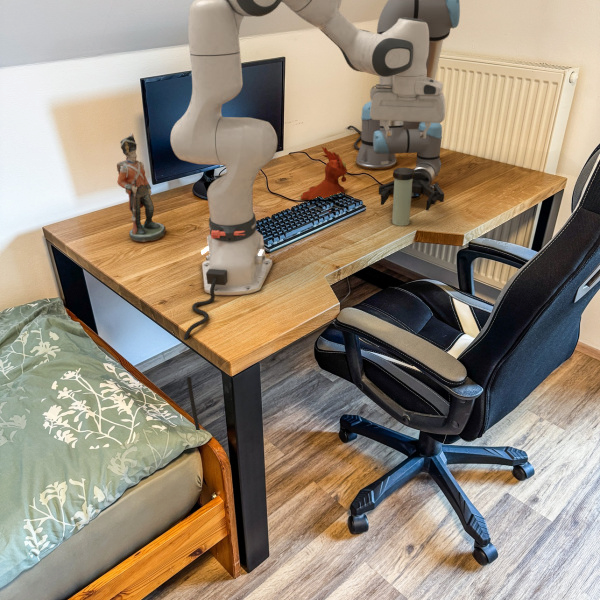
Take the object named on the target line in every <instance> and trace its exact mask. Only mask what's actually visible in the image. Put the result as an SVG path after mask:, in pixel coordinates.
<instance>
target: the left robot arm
mask: <svg viewBox="0 0 600 600" xmlns="http://www.w3.org/2000/svg"><path fill="white" fill-rule="evenodd" d="M342 1H343V0H193V2H192V3H191V4H190V6H189V12H188V27H187V28H188V50H189V58H190V66H191V84H192V89H191V97H190V101H189V104H188V107H187V109H186V111H185V112H184V114H183V115H182V116H181V117H180V118H179V119H177V121H176V122H175V123H174V125H173V126H172V129H171V131H170V138H169V139H170V140H169V141H170V146H171V150H172V151H173V153H174V155H175V156H176V157H177V158H178V159H179V160H181V161H184V162H188V163H192V164H197V165H211V166H212V165H213V166H214V165H216V166H217V165H219V166H225V169H226V173H225V174H224V175H222V176H220V177H218V178H217V179H215V180H213V181H212V182H211V183H210V185H209V186H208V188H207V191H206V196H207V203H208V212H209V218H208V229H209V234H208V235H207V236H206V243H207V246H206V247H205V248H204V249H202V250H201V251H200V252H201V255H204V254H205V253H207V252H208V255H206V256H205V260H204V261H203V262H202V263H201V268H202V278H203V290H204V292H205V293H207V294H210V298H209V299H207V300H204V301H197V302H194V303H193V304H192V306H191V309H192V310H193V312H195V313H197V314H200V315H202V316H204V318H202V319H201V320H199V321H195V322H194V323H193V324H191V325H190V326H189V327H188V328H187V330H186V331H185V333H184V338H183V341H187V340H189V338H190V334H191V333H192V331H194V330H195V329H196V328H198V327H200V326H202V325H204V324H205V323H207V322H208V321H209V318H210V316H209V313H208V312H206V311H205V310H203V309H200V308H198V307H202V306H207V305H209V304H212V303H213V302H214V300H215V298H216V296H239V295H240V296H241V295H249V294H253V293H256V292H259V291H260V290H261V288H262V287H263V286H264V283H265V280H266V278H267V276H268V274H269V273H270V271H271V268H272V266H273V265H274V264H273V260H272V259H271V258H268V257H266V249H265V242H264V235H263V234H262V233H260V232H259V231H258V230H257V218H256V214H255V212H254V200H253V194H254V193H253V191H254V190H253V189H254V184H255V181H256V178H257V175H258V174H259V172H260V171H261V170H262V168H264V167H265V166H266V165H267V164H268V163H270V162H271V161H272V160H273V158H274V157H275V154H276V152H277V150H278V135H277V133H276V130H275V129H274V127H273V125H272V124H271V123H270V122H269V121H266V120H263V119H258V118H254V117H245V116H243V117H240V116H239V117H237V116H236V117H235V116H233V117H232V116H230V117H229V116H226V117H225V116H223V115H222V107H223V105H224V104H226V103H229V102H230V101H231V100H233V99H235V98H236V97H237V96H238V95H239V94H240V92H241V91H242V88H243V73H242V72H243V69H242V55H241V46H240V36H239V35H240V28H241V24H242V21H243V19H244V18H245V17H249V18H250V17H256V18H257V17H264V16H267V15H269V14H271V13H272V12H274V11H275V10H276V9H277V8H278V7H279V6H280V4H281V3H283V4H284V5H285V6H287V8H289V10H291V11H292V12H293V13H295V15H297V16H298V17H300V18H301V19H302V20H303V21H306V23H308V24H310V25H312V26H314V27H316V28H317V29H318V30H320V31H321V32H322V33H323V34H324V35H325V36H326V38H328V39H329V40H330V41H331V42H333V44H335V45H336V46H337V48H338V49H339V50H340V52H341V53H342V56H343V58H344V60H345V62H346V64H347V65H348V67H349V68H351V69H352V70H353V71H356V72H361V73H367V74H369V75H373V76H377V77H379V78H380V77H389V76H392V75H393V80H392V84H385V85H381V84H380V83H376V84H375V85H373V86H372V87H371V88H370V91H369V98H370V101H372V102H371V108H370V117H371V118H372V120H383V121H382V124H383V126H384V128H385V130H386V136H390V137H391V136H392V129H389V126H388V122H389V121H410V122H425V126H427V127H426V128H425V130H421V132H420V138H426V132H427V130H428V129H429V127H430V126H431V122H432V123H440V124H441V123H442V122H443V121H444V120H445V118H446V98H445V95H444V92H443V89H444V83H443V82H442V81H440V80H437V79H435V80H434V79H431V78H429V77H427V69H426V61H427V58H428V51H429V29H428V25H427V23H426V22H425V21H424V20H421V19H414V18H407V17H402V18H399V19H398V21H397V23H396V24H395V25H394V26H393V27H392V28H390V29H389V30H387V31H386V32H384V33H382V34H377V32H372V31H369V30H365V29H361V28H357V27H356V26H355V25H354V24H353V22H351V21H350V20H349V19H348V17H346V16H345V15H344V14H343V13H342V12H341V10H340V8H341V5H342ZM186 381H187V389H188V395H189V402H190V406H191V412H192V417H193V422H194V426H195V431H196V430H200V429H201V428H200V424H199V417H198V414H197V408H196V402H195V396H194V389H193V383H192V377H191V376H187V377H186ZM200 431H201V430H200Z"/></svg>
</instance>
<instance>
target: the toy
mask: <svg viewBox="0 0 600 600" xmlns="http://www.w3.org/2000/svg"><path fill="white" fill-rule="evenodd" d="M321 148H322V151H323V153H324V154H323V155H322V157H324V158H326V159H328V161H327V163H326V164H325V168H324V175H325V176H324V180H323V181H321V182H320V183H318V184H317V185H316V186H311V187H309V188H308V190H307V191H304V192H302V195H301V196H300V199H301V200H302V201H310V200H311V199H314V198H316V197H318V196H321V197H323V198H326V197H329V196H330V195H333V194H337V193H340V192H343V193H345V187H344V186H342V185H341V184H340V181H341V182H343V183H345V182H346V181H347V177H345V175H347V172H348V169H347V164H346V163H345V161H343V159H342V158H341V157H340V155H339V154H337V153H336V151H334V152H333V151H332V152H331V151H329V150H328V149H327V147H323V146H321ZM339 178H341V179H340V181H339Z"/></svg>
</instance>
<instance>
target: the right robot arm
mask: <svg viewBox="0 0 600 600" xmlns="http://www.w3.org/2000/svg"><path fill="white" fill-rule="evenodd" d="M460 2H461V1H460V0H387V1H386V3H385V4H384V6H383V8H382V10H381V12H380V14H379V18H378V22H377V27H376V33H377V34H382V33H384V32H386V31H387V30H389V29H390V28H392V27H393V26H394V25H395V24H396V23H397V21H398V19H399V18H402V17H407V18H414V19H421V20H424V21H425V22H426V23H427V25H428V29H429V51H428V58H427V61H426V69H427V77H429V78H431V79H434V80H436V76H437V71H438V67H439V62H440V57H441V54H442V53H441V52H442V48H443V44H444V43H443V42H444V41H445V40H447V38H449V36H450V33H451V29H453V30H454V29H455V28H457V27H458V26H459V24H460V18H461V17H460V16H461V3H460ZM392 80H393V75H392V76H389V77H380V76H379V84H381V85H385V84H392ZM371 102H372V100H370V101H367V102H366V103H364V105H363V106H362V109H361V116H360V117H361V118H360V119H361V129H360V130H359V129H358V127H356V126H354V125H349V126H347V130H349V129H353V130H355V131H356V132H357V133H359V137H358V138H357V139H356V140H355V142H354V143H353V147H354V149H356V150H358V153H357V155H356V158H355V165H356V166H357V167H358V168H360V169H362V170H363V169H364V170H370V171H383V170H388V169H392V168H394V167H395V166H396V165H397V157H396V155H397V154H416V165H415V167H414V168H413V170H414V171H415V176H414V178H413V179H412V194H416V195H421V196H425V197H426V198H427V200H426V202H425V211H429V210H430V208H431V207H432V205H436V204H437V202H438V201H439V203H444V202H445V192H444V191H443V190H442V188H441V187H440V183H439V182H435V183H433V182H434V180H435V179H436V177H437V176H438V175H439V173H440V171H441V168H442V162H441V157H440V155H441V149H442V148H441V146H442V139H443V125H442V124H441V123H432V122H431V126H430V127H429V129H428V130H427V132H426V138H420V132H421V130H425V128H426V127H427V126H425V122H410V121H389V122H388V126H389V129H392V136H391V137H390V136H386V130H385V128H384V126H383V124H382V121H383V120H372V118H371V117H370V108H371ZM359 141H360V146H359V147H358V146H357V144H358V143H359ZM378 195H380V205H381V206H384V205H385V204H386V202H387V201H388V200H389V198H390V196H394V180H392V181H390V182H387V183H385V184H381V185H379V186H378Z"/></svg>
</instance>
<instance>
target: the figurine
mask: <svg viewBox="0 0 600 600" xmlns="http://www.w3.org/2000/svg"><path fill="white" fill-rule="evenodd" d="M119 142H120V143H119V144H120V149H121V150H122V153H123V155H124V156H125V160H122V161H119V162H117V163H116V171H117V172H118V177H117V180H116V181H117V183H116V184H117V185H118V186H119V187H120V188H122V189H124V190H125V194H127V195H128V209H129V211H130V212H131V214H132V215H131V221H132V229H131V230H130V231H129V238H130V239H131V240H132V241H136V242H142V243H143V242H144V243H145V242H148V241H150V242H151V241H157V240H159V239H161V238H163V237H164V236H165V235H166V226H165V225H164V224H163V223H160V222H154V221H153V216H154V212H155V206H154V203H153V200H152V197H151V195H152V186H151V184H150V183H149V181H148V178H147V176H146V171H145V164H144V162H143V161H142V160H137V157H138V155H137V147H138V144H137V142H136V139H135V136H134V134H133V132H131V133H130V134H129V135H128V137H125V138H123V139H122V140H120V141H119ZM142 208H144V215H145V220H144V223H143V224H142V221H141V220H142V219H141V218H142V216H141V213H142V211H141V209H142Z"/></svg>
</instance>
